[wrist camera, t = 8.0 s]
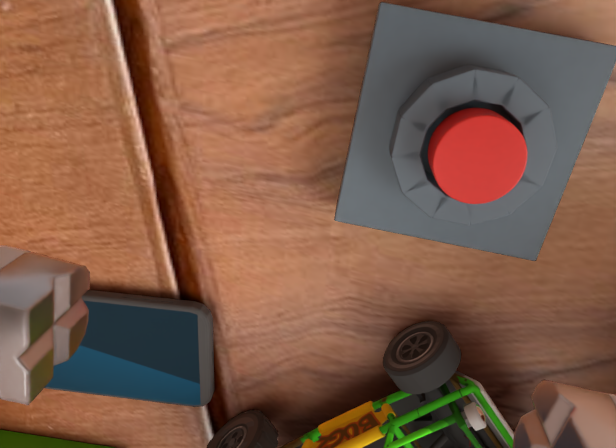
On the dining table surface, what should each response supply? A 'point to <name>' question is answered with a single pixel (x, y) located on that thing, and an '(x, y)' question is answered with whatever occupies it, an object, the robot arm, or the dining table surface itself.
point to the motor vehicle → (399, 406)
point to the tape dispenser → (38, 441)
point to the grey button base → (457, 96)
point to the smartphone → (142, 350)
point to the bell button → (477, 155)
